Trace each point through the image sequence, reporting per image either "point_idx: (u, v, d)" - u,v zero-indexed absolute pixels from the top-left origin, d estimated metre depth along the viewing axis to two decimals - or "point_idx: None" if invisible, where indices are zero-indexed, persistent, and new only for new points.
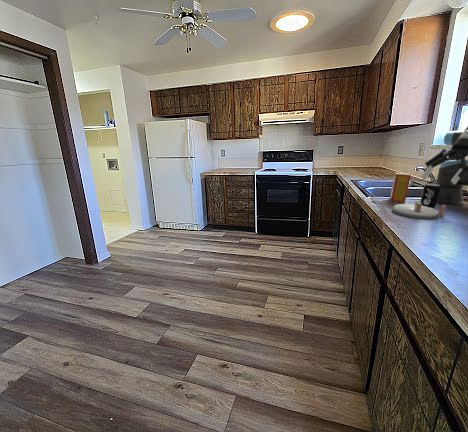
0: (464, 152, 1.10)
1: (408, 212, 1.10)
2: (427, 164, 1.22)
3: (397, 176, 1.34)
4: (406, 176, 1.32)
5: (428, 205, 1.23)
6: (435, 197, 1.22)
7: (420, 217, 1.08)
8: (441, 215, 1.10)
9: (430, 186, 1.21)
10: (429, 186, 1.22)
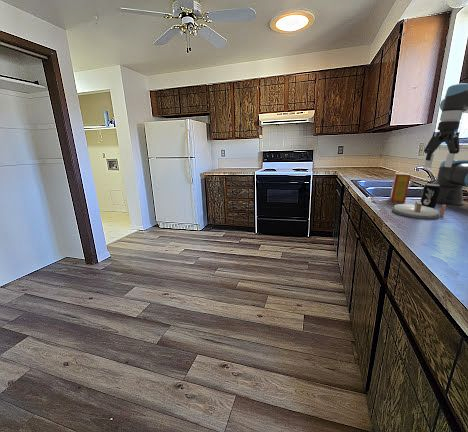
0: None
1: (408, 212, 1.10)
2: None
3: (397, 176, 1.34)
4: (406, 176, 1.32)
5: (428, 205, 1.23)
6: (435, 197, 1.22)
7: (420, 217, 1.08)
8: (441, 215, 1.10)
9: (430, 186, 1.21)
10: (429, 186, 1.22)
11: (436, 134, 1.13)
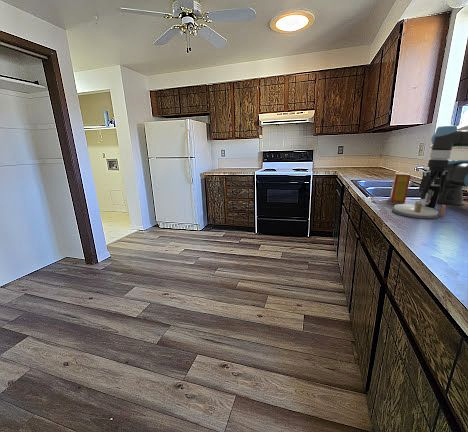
0: None
1: (408, 212, 1.10)
2: None
3: (397, 176, 1.34)
4: (406, 176, 1.32)
5: (428, 205, 1.23)
6: (435, 197, 1.22)
7: (420, 217, 1.08)
8: (441, 215, 1.10)
9: (430, 186, 1.21)
10: None
11: (426, 174, 1.19)
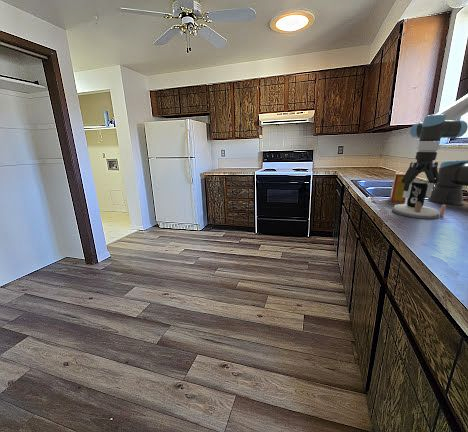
0: None
1: (408, 212, 1.10)
2: None
3: (397, 176, 1.34)
4: None
5: None
6: (422, 195, 1.14)
7: (420, 217, 1.08)
8: (441, 215, 1.10)
9: (417, 183, 1.14)
10: (416, 183, 1.14)
11: (413, 165, 1.11)
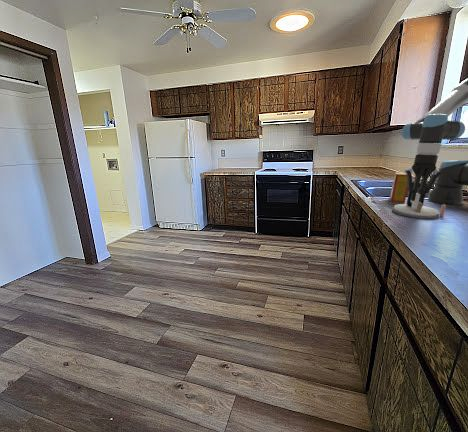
0: None
1: (408, 212, 1.10)
2: None
3: (397, 176, 1.34)
4: (406, 176, 1.32)
5: None
6: None
7: (420, 217, 1.08)
8: (441, 215, 1.10)
9: None
10: None
11: (406, 173, 1.06)
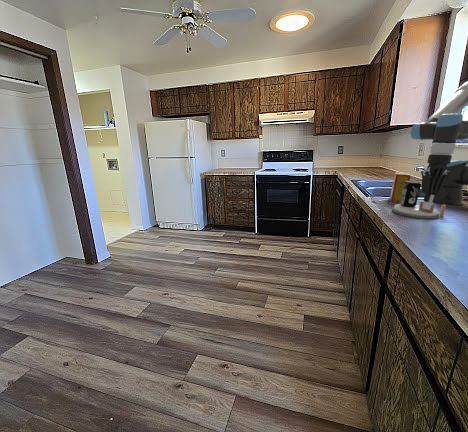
0: None
1: (423, 214, 1.07)
2: None
3: (397, 176, 1.34)
4: (406, 176, 1.32)
5: (413, 204, 1.16)
6: (418, 194, 1.15)
7: (420, 217, 1.08)
8: (441, 215, 1.10)
9: (415, 184, 1.13)
10: (414, 184, 1.13)
11: (425, 174, 1.02)
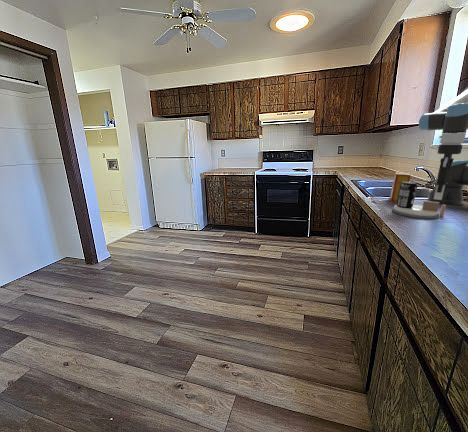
0: (443, 159, 1.02)
1: (436, 213, 1.08)
2: None
3: (397, 176, 1.34)
4: (406, 176, 1.32)
5: None
6: None
7: (420, 217, 1.08)
8: (441, 215, 1.10)
9: (416, 184, 1.12)
10: (415, 184, 1.12)
11: (445, 165, 1.00)
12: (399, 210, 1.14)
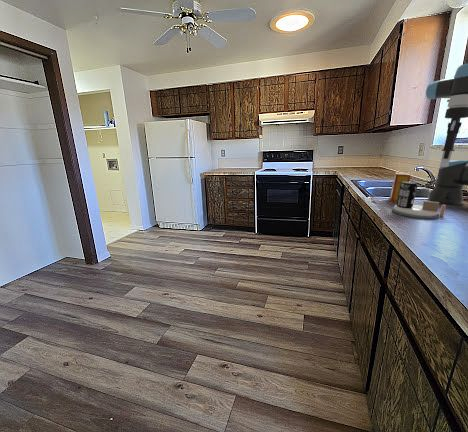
0: (450, 123, 0.99)
1: (436, 213, 1.08)
2: None
3: (397, 176, 1.34)
4: (406, 176, 1.32)
5: None
6: None
7: (420, 217, 1.08)
8: (441, 215, 1.10)
9: (416, 184, 1.12)
10: (415, 184, 1.12)
11: (453, 128, 0.97)
12: (399, 210, 1.14)
